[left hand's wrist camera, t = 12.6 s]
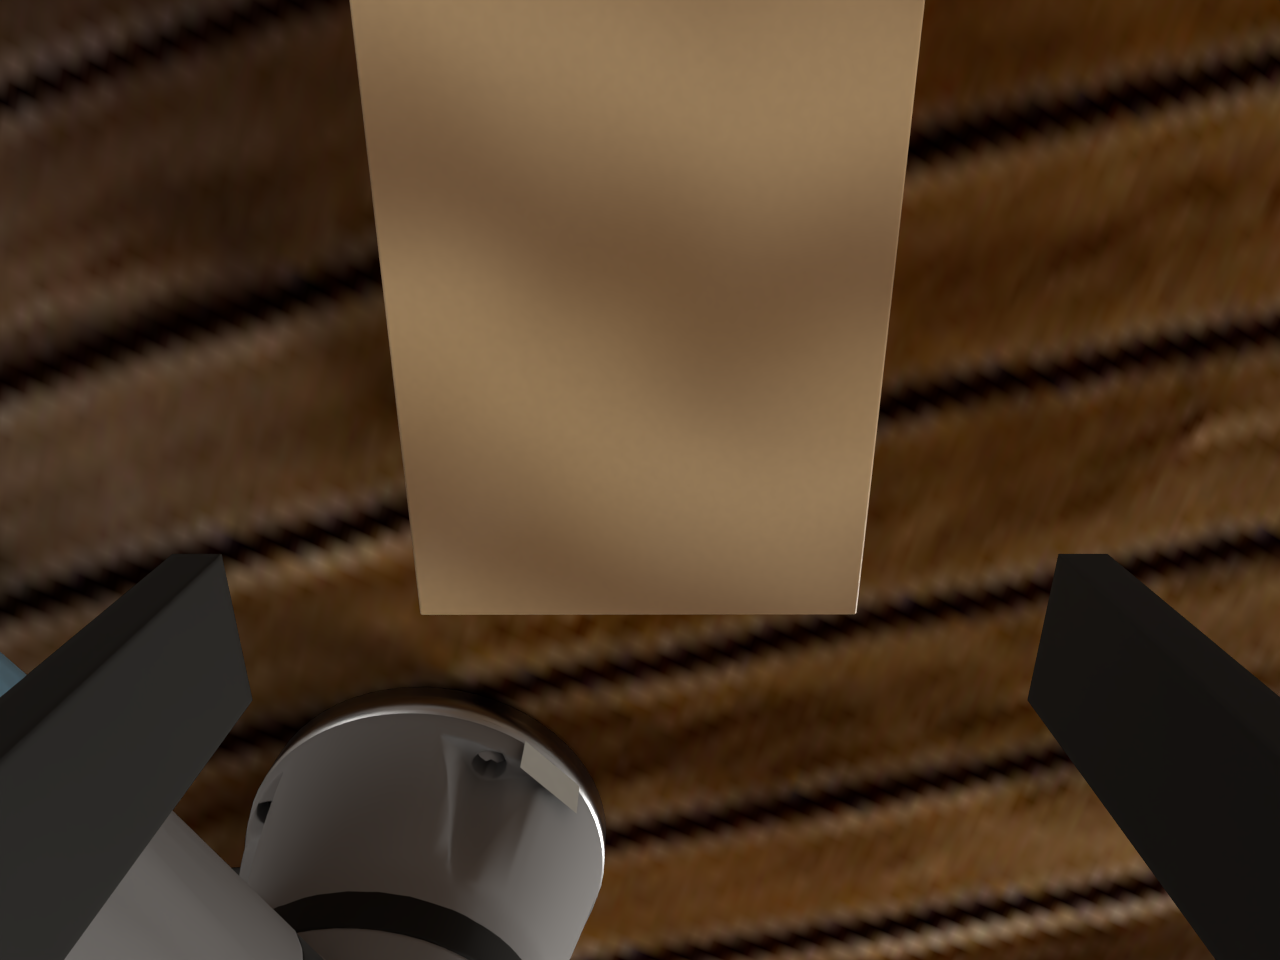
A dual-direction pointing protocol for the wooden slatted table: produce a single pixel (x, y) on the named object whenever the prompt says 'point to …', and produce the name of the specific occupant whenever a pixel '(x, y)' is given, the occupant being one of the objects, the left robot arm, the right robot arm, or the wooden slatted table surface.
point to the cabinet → (637, 293)
